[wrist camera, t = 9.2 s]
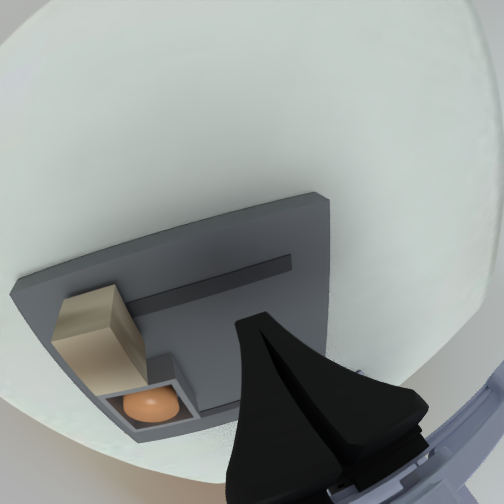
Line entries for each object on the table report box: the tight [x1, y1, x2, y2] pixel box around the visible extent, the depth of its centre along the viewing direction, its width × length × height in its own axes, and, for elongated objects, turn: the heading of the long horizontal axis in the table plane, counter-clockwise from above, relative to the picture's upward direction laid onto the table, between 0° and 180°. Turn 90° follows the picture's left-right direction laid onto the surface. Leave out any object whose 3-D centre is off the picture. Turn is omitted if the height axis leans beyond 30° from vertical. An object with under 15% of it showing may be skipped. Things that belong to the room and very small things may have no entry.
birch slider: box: [51, 284, 148, 396], centre depth 11 cm, size 4×3×3 cm
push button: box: [123, 384, 179, 422], centre depth 15 cm, size 4×4×2 cm
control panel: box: [9, 192, 330, 443], centre depth 17 cm, size 18×18×4 cm
